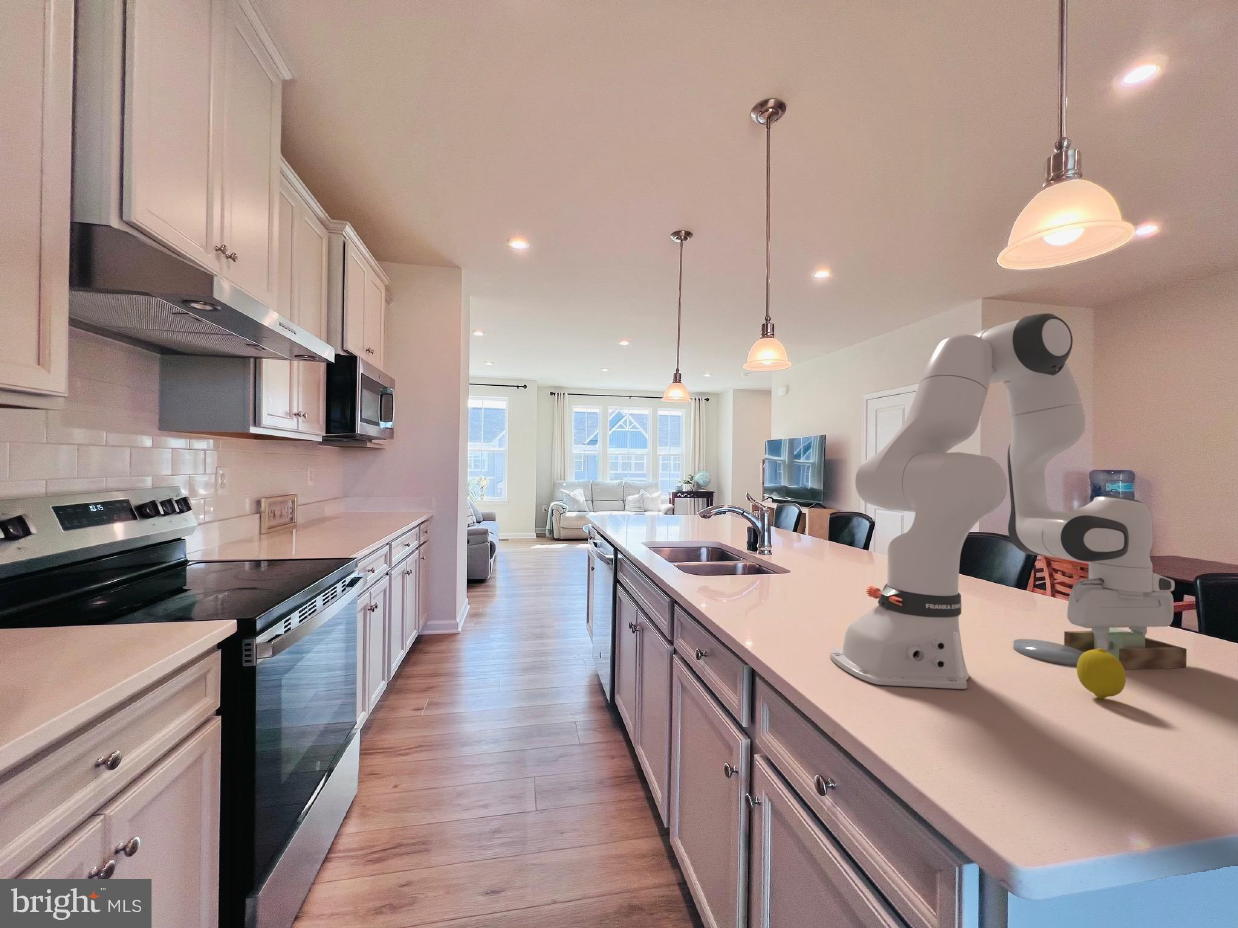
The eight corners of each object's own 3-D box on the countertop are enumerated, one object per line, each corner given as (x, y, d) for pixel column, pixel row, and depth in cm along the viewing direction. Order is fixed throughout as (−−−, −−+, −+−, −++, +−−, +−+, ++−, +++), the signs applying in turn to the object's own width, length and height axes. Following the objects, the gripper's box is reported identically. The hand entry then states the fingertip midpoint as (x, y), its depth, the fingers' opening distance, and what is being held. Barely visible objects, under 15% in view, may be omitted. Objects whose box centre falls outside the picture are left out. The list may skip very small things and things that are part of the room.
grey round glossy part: (1053, 666, 90) (1053, 659, 90) (999, 645, 101) (999, 639, 101) (1103, 664, 92) (1103, 658, 92) (1045, 643, 103) (1045, 638, 103)
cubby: (1125, 669, 90) (1125, 650, 90) (1064, 648, 100) (1064, 631, 100) (1186, 667, 91) (1186, 648, 92) (1120, 646, 102) (1120, 630, 102)
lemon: (1103, 692, 80) (1104, 643, 80) (1136, 708, 74) (1136, 655, 74) (1067, 689, 80) (1067, 641, 80) (1096, 705, 75) (1097, 653, 75)
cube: (1122, 662, 93) (1123, 636, 93) (1094, 653, 98) (1094, 628, 98) (1145, 662, 94) (1145, 636, 94) (1115, 652, 99) (1115, 627, 99)
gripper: (1091, 582, 92) (1091, 656, 91) (1182, 581, 94) (1182, 653, 94) (1057, 575, 98) (1056, 644, 98) (1143, 575, 101) (1142, 642, 100)
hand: (1119, 648), depth 96 cm, fingers closed on cube, 5 cm apart
